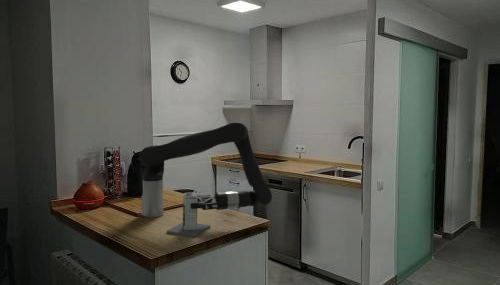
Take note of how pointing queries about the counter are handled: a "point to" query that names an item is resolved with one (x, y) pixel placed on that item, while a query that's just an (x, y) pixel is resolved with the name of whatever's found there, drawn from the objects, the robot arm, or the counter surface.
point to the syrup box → (189, 211)
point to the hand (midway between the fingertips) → (189, 203)
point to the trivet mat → (188, 233)
